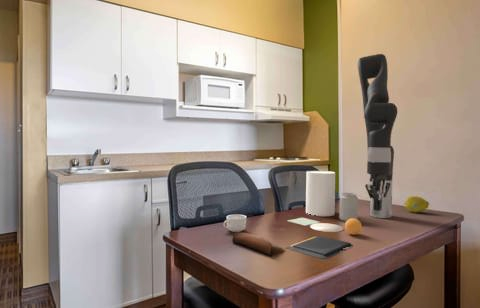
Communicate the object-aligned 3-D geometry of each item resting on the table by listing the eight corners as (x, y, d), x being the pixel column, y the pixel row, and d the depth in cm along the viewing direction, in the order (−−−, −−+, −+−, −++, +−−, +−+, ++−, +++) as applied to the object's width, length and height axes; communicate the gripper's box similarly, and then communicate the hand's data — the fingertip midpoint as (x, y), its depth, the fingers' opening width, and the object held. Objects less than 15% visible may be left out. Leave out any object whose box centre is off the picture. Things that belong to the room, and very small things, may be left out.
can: (358, 223, 140) (359, 195, 139) (340, 222, 141) (340, 194, 141) (355, 219, 147) (356, 192, 146) (338, 218, 148) (339, 191, 148)
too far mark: (302, 217, 148) (302, 217, 148) (320, 222, 140) (320, 221, 140) (287, 221, 142) (287, 220, 142) (304, 225, 134) (304, 225, 134)
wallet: (324, 256, 95) (283, 244, 106) (324, 262, 95) (282, 250, 106) (357, 242, 109) (317, 232, 120) (356, 248, 109) (317, 237, 120)
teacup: (237, 226, 131) (238, 213, 131) (250, 231, 125) (250, 217, 125) (217, 231, 125) (217, 217, 125) (229, 235, 119) (230, 220, 119)
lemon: (401, 211, 164) (402, 195, 164) (407, 209, 169) (407, 194, 169) (425, 215, 156) (425, 198, 156) (430, 213, 161) (431, 197, 161)
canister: (312, 209, 168) (313, 170, 167) (338, 212, 160) (339, 172, 159) (301, 213, 157) (301, 172, 156) (328, 217, 149) (329, 174, 148)
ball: (350, 231, 126) (351, 216, 126) (364, 235, 121) (365, 219, 121) (341, 234, 122) (341, 218, 122) (355, 237, 118) (356, 221, 117)
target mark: (323, 222, 140) (323, 221, 140) (350, 228, 130) (350, 228, 130) (303, 226, 132) (303, 226, 132) (330, 234, 122) (330, 233, 122)
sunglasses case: (289, 250, 103) (282, 234, 100) (276, 267, 99) (268, 250, 96) (249, 238, 116) (242, 223, 113) (236, 251, 112) (229, 237, 110)
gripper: (378, 159, 120) (377, 206, 121) (358, 160, 112) (357, 210, 113) (399, 160, 115) (397, 210, 115) (379, 161, 106) (377, 214, 107)
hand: (377, 210), depth 114 cm, fingers closed
